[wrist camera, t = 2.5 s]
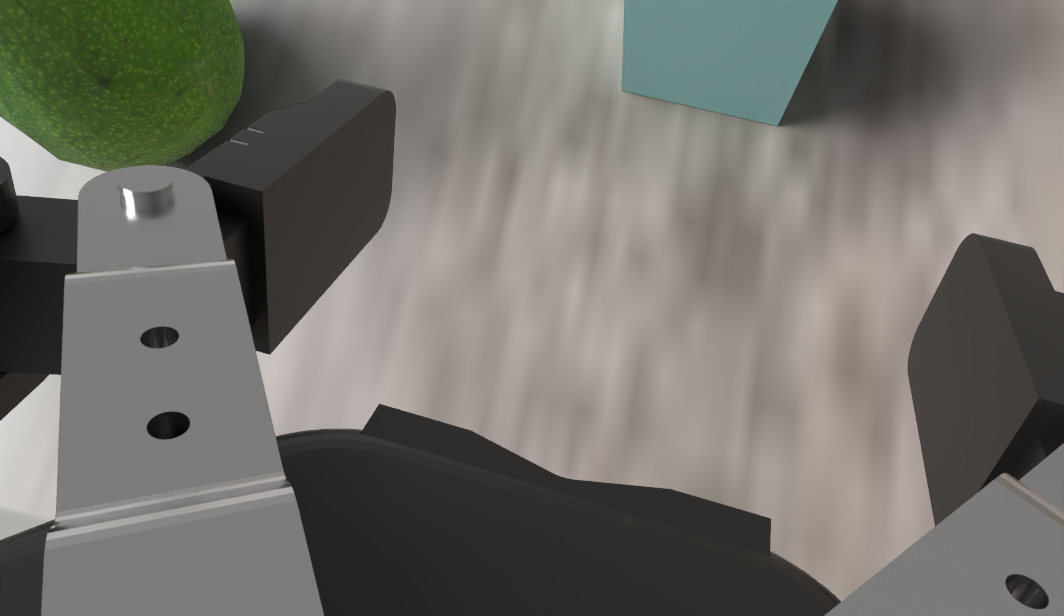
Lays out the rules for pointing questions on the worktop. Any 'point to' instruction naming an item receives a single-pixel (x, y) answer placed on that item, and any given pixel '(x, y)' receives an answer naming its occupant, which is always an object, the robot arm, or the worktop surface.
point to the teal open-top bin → (721, 52)
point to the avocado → (119, 76)
